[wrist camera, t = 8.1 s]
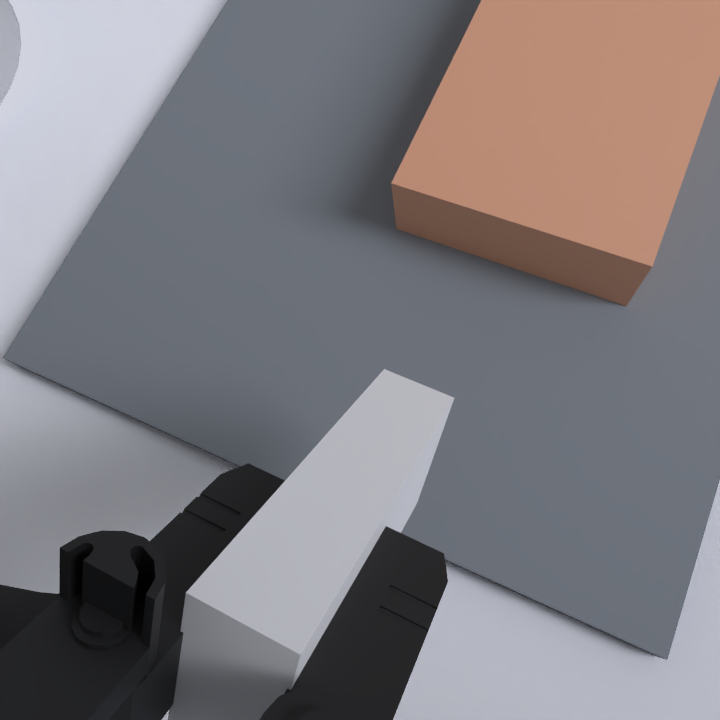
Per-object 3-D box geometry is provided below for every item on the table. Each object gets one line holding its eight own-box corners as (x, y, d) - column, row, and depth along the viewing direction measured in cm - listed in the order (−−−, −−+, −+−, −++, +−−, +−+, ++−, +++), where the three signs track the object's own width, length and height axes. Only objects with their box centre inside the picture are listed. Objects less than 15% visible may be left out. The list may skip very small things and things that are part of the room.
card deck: (626, 306, 18) (721, 38, 21) (652, 266, 16) (756, -28, 19) (396, 229, 20) (511, -11, 23) (391, 183, 18) (519, -78, 20)
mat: (840, 40, 21) (851, 25, 21) (659, 657, 16) (666, 659, 15) (292, -83, 26) (289, -98, 25) (15, 364, 21) (3, 358, 20)
